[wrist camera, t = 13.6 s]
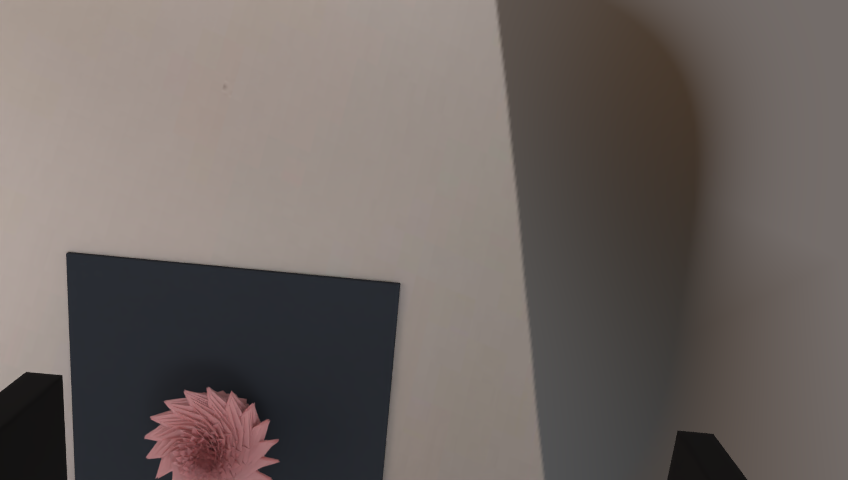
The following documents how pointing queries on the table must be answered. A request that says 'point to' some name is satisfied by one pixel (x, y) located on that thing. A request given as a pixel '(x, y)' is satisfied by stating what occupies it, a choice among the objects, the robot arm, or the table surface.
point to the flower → (211, 438)
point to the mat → (229, 361)
